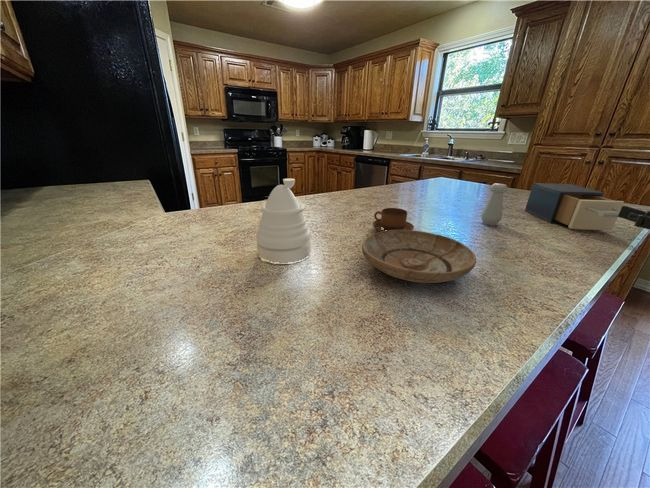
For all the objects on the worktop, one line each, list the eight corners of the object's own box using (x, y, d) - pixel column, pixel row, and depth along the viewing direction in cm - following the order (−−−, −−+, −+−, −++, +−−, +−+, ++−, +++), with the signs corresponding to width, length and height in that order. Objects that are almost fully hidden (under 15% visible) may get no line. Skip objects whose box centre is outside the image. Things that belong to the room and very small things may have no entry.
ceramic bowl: (498, 282, 54) (504, 260, 52) (401, 308, 46) (405, 283, 44) (420, 241, 74) (423, 223, 72) (343, 253, 66) (344, 234, 64)
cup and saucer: (370, 236, 77) (372, 215, 74) (373, 223, 88) (375, 204, 85) (414, 240, 74) (417, 219, 72) (411, 226, 85) (414, 207, 83)
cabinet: (590, 224, 88) (604, 192, 84) (549, 222, 89) (561, 191, 85) (559, 212, 102) (570, 184, 97) (524, 210, 103) (533, 183, 99)
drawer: (631, 238, 75) (646, 207, 71) (587, 236, 76) (600, 206, 72) (577, 217, 93) (587, 191, 89) (542, 215, 94) (551, 190, 90)
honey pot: (317, 246, 70) (317, 176, 63) (300, 268, 59) (297, 186, 52) (272, 240, 73) (267, 173, 66) (247, 260, 62) (238, 182, 55)
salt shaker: (503, 226, 85) (515, 186, 80) (485, 226, 85) (496, 185, 80) (493, 221, 91) (503, 182, 86) (476, 220, 91) (485, 182, 86)
